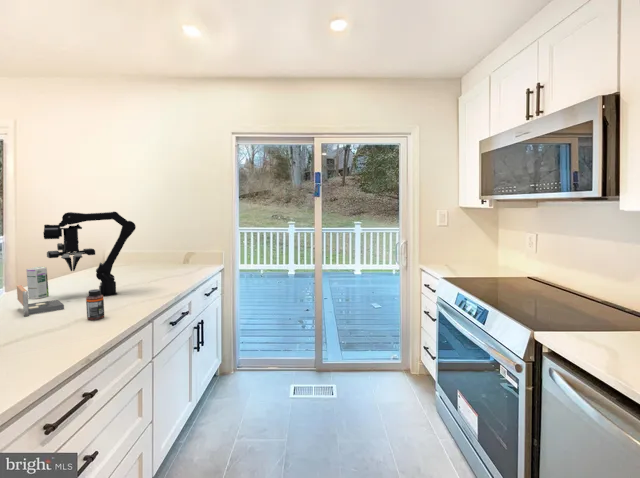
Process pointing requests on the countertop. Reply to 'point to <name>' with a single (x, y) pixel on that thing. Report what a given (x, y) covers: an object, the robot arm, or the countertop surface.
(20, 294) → the peach rectangular plank
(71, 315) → the countertop surface
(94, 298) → the supplement bottle
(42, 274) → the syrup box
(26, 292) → the plate
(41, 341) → the countertop surface
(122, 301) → the countertop surface
